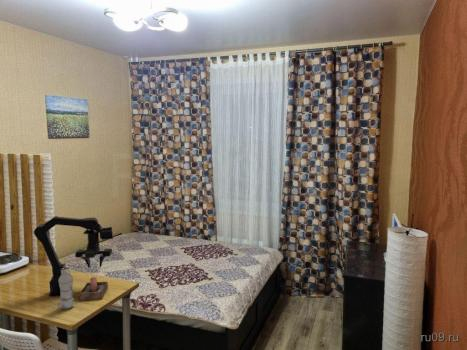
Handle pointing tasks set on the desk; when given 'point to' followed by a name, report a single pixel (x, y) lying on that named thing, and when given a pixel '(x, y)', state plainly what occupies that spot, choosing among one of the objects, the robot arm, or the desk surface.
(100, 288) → the square frame
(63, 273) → the plastic bottle
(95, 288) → the peg
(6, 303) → the desk surface
